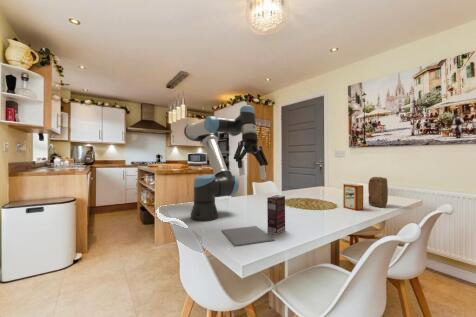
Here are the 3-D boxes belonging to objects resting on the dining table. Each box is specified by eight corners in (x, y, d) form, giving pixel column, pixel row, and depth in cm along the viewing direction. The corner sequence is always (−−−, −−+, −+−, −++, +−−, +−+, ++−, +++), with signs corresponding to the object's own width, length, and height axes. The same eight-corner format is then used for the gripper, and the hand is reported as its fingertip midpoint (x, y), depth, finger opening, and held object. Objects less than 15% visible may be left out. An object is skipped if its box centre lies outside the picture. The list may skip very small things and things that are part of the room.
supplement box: (276, 228, 103) (276, 194, 102) (285, 230, 99) (285, 195, 99) (266, 233, 96) (266, 197, 96) (276, 235, 93) (276, 198, 93)
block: (388, 207, 146) (389, 177, 146) (380, 208, 143) (381, 178, 143) (374, 204, 156) (374, 176, 156) (366, 204, 154) (366, 176, 153)
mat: (221, 231, 98) (221, 229, 98) (255, 227, 104) (255, 225, 104) (234, 246, 81) (234, 244, 81) (274, 240, 87) (274, 239, 87)
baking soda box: (343, 207, 145) (343, 183, 145) (349, 206, 148) (349, 183, 148) (356, 210, 136) (356, 185, 136) (363, 209, 139) (363, 184, 139)
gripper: (234, 124, 95) (237, 171, 88) (272, 138, 111) (277, 178, 104) (224, 131, 100) (226, 175, 93) (261, 143, 116) (265, 182, 109)
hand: (253, 177), depth 98 cm, fingers open, 13 cm apart
